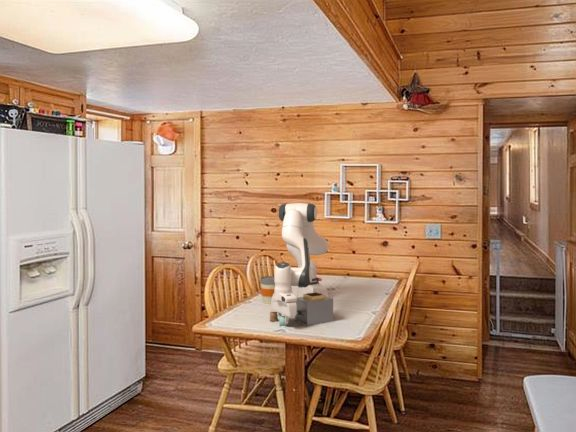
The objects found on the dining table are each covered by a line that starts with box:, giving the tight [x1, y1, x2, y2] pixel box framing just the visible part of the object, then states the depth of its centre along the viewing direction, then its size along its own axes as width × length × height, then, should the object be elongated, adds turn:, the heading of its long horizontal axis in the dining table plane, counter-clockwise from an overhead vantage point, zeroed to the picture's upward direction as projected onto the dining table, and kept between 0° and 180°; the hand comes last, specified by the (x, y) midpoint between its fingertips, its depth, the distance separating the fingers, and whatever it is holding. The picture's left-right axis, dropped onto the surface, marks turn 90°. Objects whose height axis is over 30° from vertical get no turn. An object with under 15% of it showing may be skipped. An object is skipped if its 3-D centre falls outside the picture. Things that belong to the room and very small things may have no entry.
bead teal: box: [278, 315, 288, 327], centre depth 263 cm, size 4×4×4 cm
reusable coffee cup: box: [259, 275, 275, 305], centre depth 312 cm, size 13×13×15 cm
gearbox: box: [294, 292, 334, 327], centre depth 270 cm, size 19×12×14 cm, turn 120°
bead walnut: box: [269, 311, 279, 323], centre depth 272 cm, size 4×4×4 cm
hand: (283, 322), depth 263 cm, fingers open, 4 cm apart
